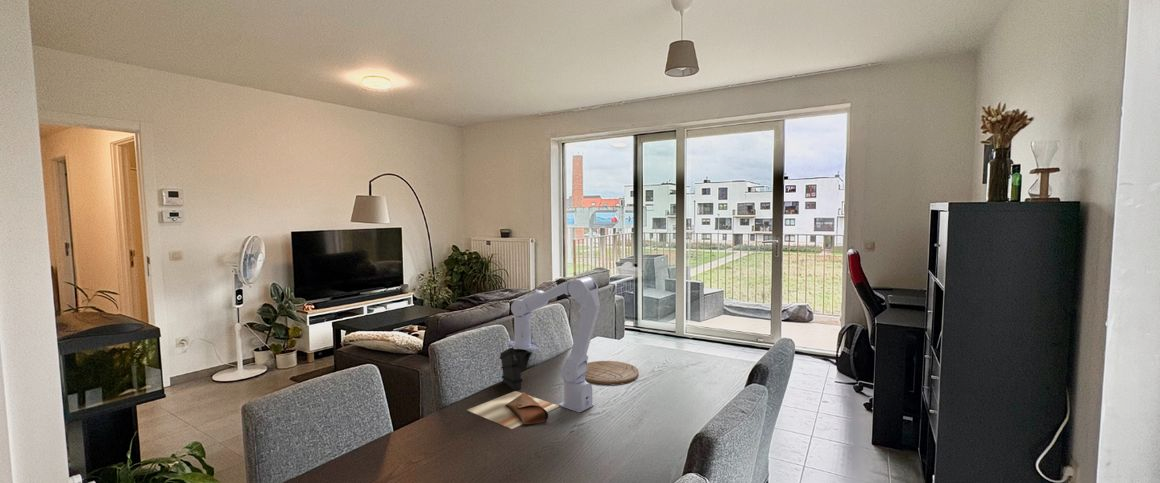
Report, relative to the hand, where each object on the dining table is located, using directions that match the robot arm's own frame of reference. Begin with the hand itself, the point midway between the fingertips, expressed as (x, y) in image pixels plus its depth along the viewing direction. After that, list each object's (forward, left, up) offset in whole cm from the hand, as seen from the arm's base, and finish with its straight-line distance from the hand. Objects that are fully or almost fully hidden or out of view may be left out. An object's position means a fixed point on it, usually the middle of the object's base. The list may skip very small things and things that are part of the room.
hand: (522, 369), depth 171 cm
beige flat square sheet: (-6, +10, -9) cm, 15 cm away
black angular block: (+12, -5, -10) cm, 16 cm away
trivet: (-10, -38, -10) cm, 40 cm away
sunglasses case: (-12, +10, -9) cm, 18 cm away
